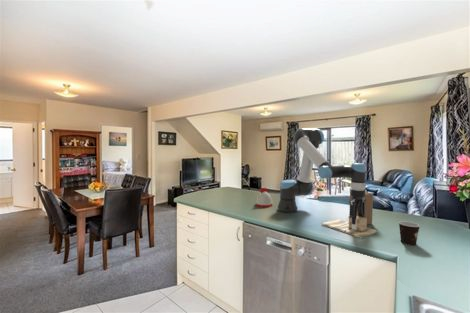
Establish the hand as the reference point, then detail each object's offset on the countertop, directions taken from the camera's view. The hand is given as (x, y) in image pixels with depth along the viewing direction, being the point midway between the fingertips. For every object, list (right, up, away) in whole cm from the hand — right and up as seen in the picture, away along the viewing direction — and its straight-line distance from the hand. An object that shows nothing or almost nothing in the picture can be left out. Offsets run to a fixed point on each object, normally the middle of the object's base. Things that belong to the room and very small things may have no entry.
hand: (356, 228), depth 138 cm
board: (-3, -1, +5) cm, 6 cm away
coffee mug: (+17, -3, -16) cm, 23 cm away
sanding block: (0, 0, 0) cm, 0 cm away
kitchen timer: (-47, +1, +61) cm, 77 cm away
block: (+11, -1, +16) cm, 20 cm away
